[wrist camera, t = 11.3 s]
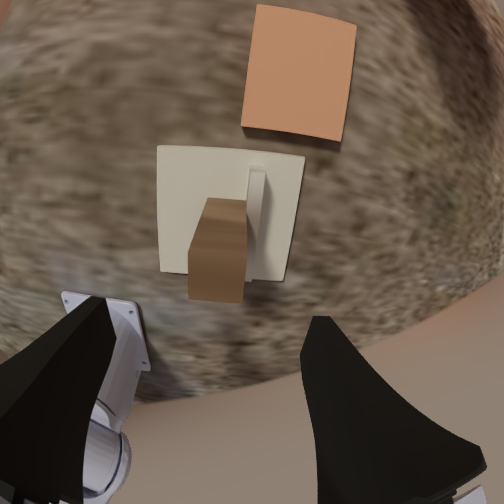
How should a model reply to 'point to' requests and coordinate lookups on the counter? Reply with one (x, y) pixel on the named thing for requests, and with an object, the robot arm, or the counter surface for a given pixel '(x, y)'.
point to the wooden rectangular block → (226, 244)
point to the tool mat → (226, 187)
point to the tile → (298, 72)
